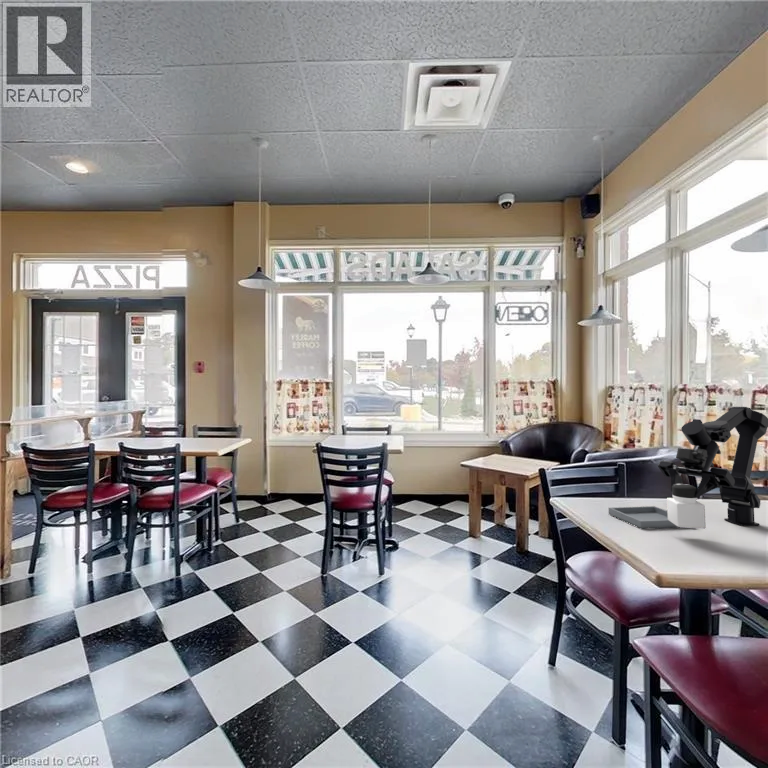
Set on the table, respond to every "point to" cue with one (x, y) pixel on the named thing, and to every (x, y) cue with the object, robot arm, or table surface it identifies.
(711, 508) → the table surface
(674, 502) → the medicine bottle
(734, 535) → the table surface
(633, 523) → the tray
